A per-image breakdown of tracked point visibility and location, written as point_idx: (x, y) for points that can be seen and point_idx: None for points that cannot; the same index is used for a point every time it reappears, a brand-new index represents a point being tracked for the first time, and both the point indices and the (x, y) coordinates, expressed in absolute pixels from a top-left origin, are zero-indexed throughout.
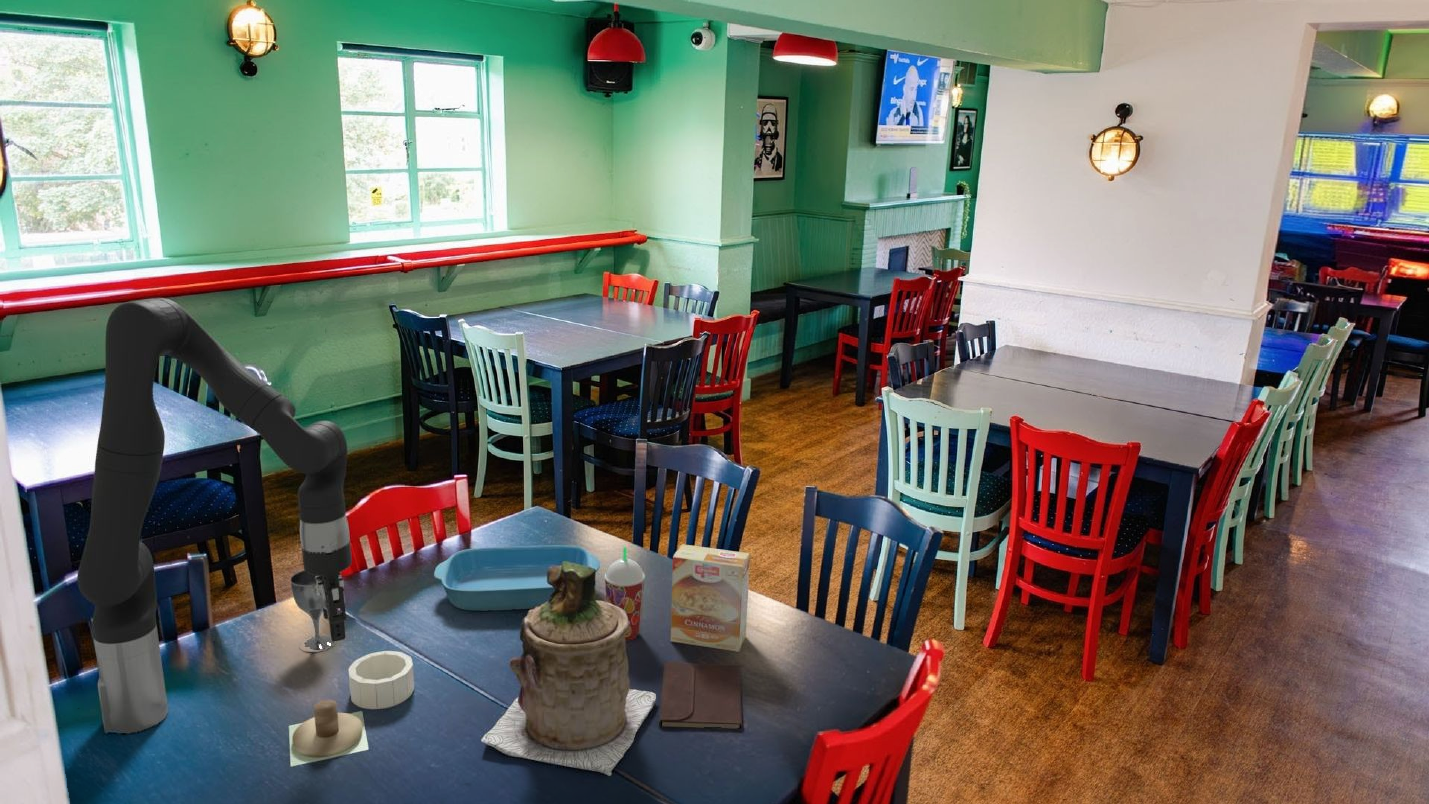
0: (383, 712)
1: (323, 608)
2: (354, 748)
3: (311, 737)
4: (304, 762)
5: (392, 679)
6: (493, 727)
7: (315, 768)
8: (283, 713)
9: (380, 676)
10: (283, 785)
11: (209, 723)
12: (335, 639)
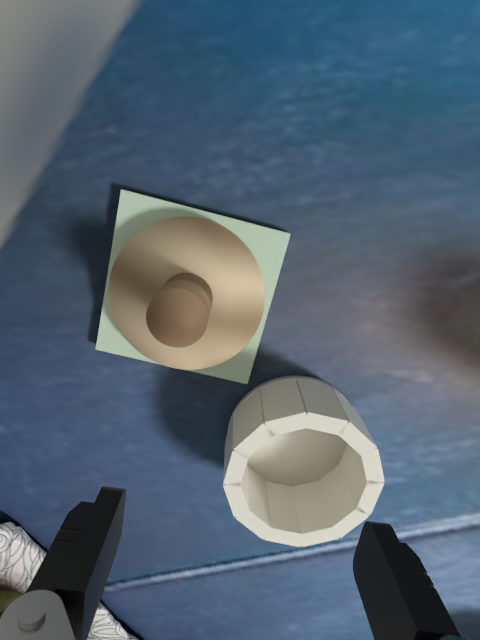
0: (230, 415)
1: (393, 573)
2: (114, 327)
3: (183, 260)
4: (120, 221)
5: (227, 485)
6: (32, 553)
7: (105, 238)
8: (366, 241)
9: (344, 457)
10: (77, 159)
11: (449, 67)
12: (82, 506)
